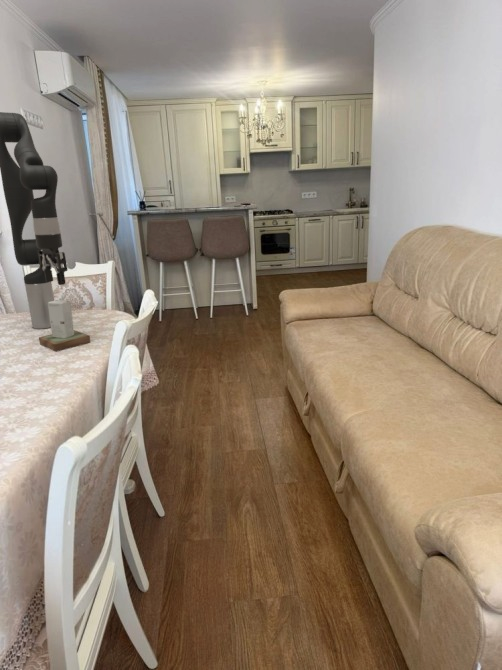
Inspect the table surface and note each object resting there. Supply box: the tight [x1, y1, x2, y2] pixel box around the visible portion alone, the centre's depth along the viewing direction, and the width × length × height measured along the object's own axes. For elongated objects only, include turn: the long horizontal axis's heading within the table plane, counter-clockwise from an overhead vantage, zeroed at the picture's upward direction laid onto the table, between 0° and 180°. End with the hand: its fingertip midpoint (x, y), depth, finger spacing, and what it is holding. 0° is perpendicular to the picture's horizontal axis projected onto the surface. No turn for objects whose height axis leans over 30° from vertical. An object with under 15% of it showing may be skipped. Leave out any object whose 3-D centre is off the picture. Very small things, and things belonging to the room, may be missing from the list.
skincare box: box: [48, 299, 75, 338], centre depth 150 cm, size 6×4×12 cm
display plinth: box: [38, 329, 91, 352], centre depth 152 cm, size 12×12×3 cm
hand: (55, 283), depth 146 cm, fingers open, 8 cm apart
